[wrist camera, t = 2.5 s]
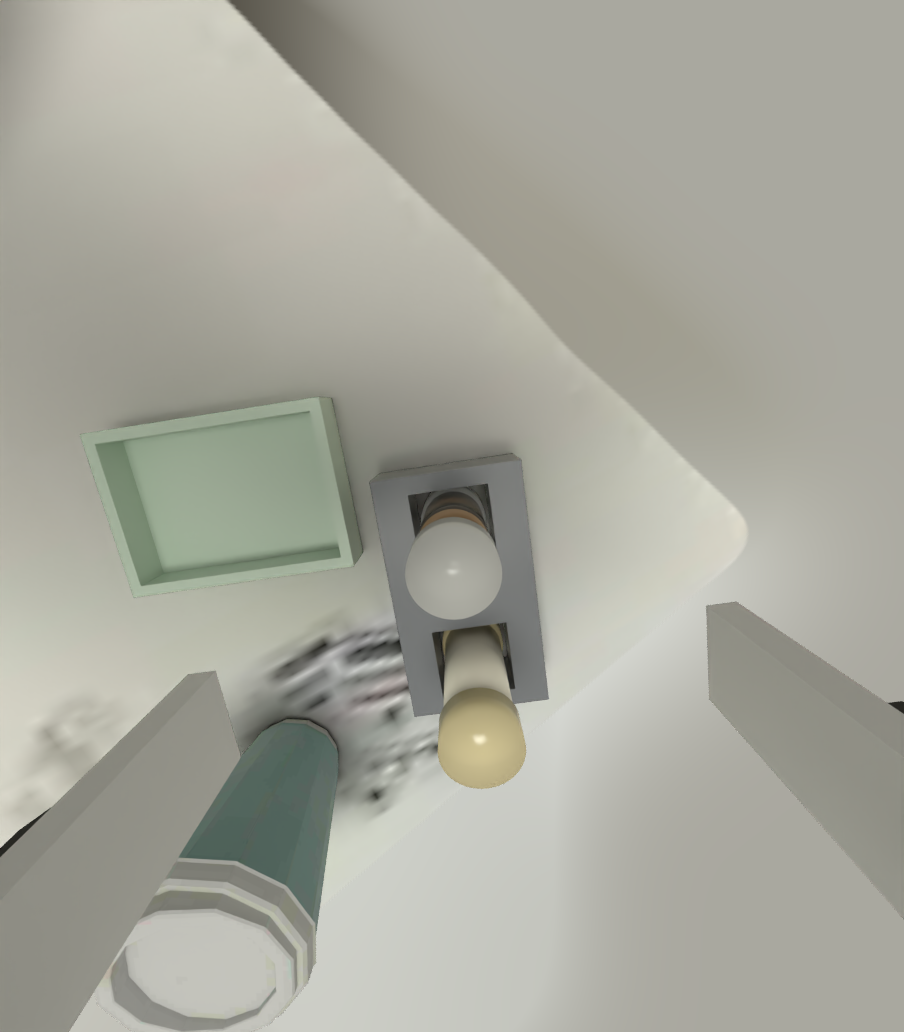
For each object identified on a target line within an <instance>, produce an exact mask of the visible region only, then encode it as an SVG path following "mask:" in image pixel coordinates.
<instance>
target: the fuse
mask: <svg viewBox="0 0 904 1032" xmlns="http://www.w3.org/2000/svg"><path fill="white" fill-rule="evenodd" d="M442 647H443V653H444V655H445V672H444V705H443V709H442V711H441V714H440V718H439V737H438V758H439V762H440V764H441V766H442V768H443V770H444V771H445V772H446V774H447V775H448V776H449V777H450V778H451V779H453V780H454V781H456V782H457V783H459V784H461V785H464V786H467V787H471V788H478V789H479V788H480V789H484V788H492V787H496V786H499V785H501V784H504V783H505V782H507V781H509V780H510V779H511V778H513V777H514V776H515V775H516V774H517V773H518V771H519V770H520V769H521V767H522V765H523V763H524V760H525V755H526V745H525V740H524V735H523V731H522V726H521V722H520V717H519V713H518V710H517V708H516V706H515V705H514V703H513V702H512V697H511V693H510V688H509V683H508V678H507V673H506V668H505V663H504V658H503V654H502V651H503V639H502V635H501V630H500V625H499V624H491V625H484V626H477V627H470V628H462V629H455V630H448V631H443V644H442Z"/></svg>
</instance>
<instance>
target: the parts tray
mask: <svg viewBox="0 0 904 1032" xmlns="http://www.w3.org/2000/svg"><path fill="white" fill-rule="evenodd" d="M80 437H81V440H82V443H83V446H84V449H85V452H86V455H87V458H88V461H89V464H90V468H91V471H92V474H93V477H94V480H95V483H96V486H97V489H98V492H99V495H100V498H101V501H102V504H103V507H104V510H105V513H106V516H107V519H108V522H109V525H110V528H111V531H112V534H113V537H114V540H115V543H116V546H117V549H118V552H119V555H120V558H121V561H122V564H123V567H124V570H125V573H126V576H127V579H128V582H129V585H130V588H131V591H132V594H133V597H134V598H136V597H143V596H150V595H157V594H164V593H171V592H178V591H185V590H192V589H199V588H206V587H213V586H220V585H227V584H234V583H241V582H248V581H255V580H262V579H269V578H276V577H283V576H290V575H297V574H304V573H311V572H318V571H325V570H332V569H339V568H346V567H353V566H355V564H356V562H357V561H358V559H359V558H360V556H361V554H362V553H363V549H362V544H361V539H360V534H359V530H358V525H357V520H356V515H355V510H354V505H353V500H352V495H351V490H350V485H349V480H348V475H347V471H346V466H345V461H344V456H343V451H342V446H341V441H340V436H339V431H338V426H337V421H336V416H335V412H334V407H333V402H332V398H326V397H313V398H307V399H301V400H294V401H288V402H281V403H275V404H269V405H262V406H256V407H250V408H243V409H237V410H230V411H224V412H218V413H211V414H205V415H199V416H192V417H186V418H179V419H173V420H167V421H160V422H154V423H148V424H141V425H135V426H128V427H122V428H116V429H109V430H103V431H97V432H90V433H84V434H80Z"/></svg>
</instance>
